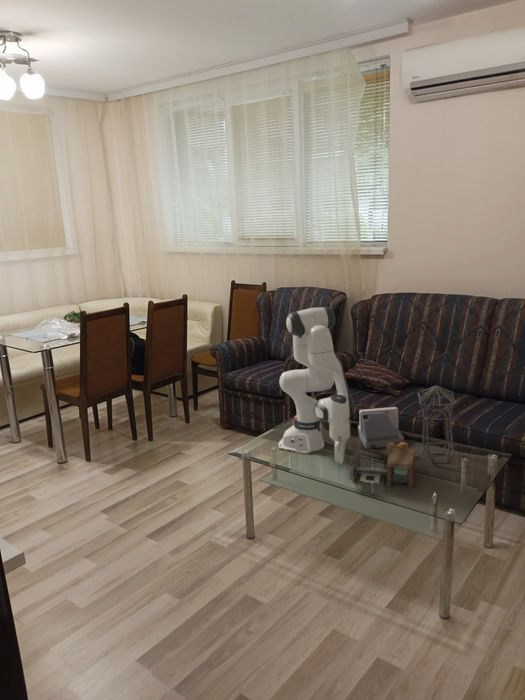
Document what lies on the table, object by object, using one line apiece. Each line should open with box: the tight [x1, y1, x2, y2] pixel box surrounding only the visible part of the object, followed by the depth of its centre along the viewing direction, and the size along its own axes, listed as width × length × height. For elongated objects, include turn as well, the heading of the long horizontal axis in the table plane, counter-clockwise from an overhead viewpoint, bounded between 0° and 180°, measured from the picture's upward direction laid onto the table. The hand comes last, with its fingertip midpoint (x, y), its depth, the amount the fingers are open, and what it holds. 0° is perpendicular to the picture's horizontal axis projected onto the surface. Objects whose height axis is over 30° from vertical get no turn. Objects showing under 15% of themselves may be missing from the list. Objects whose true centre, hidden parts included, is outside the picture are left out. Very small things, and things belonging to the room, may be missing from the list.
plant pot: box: [314, 392, 337, 430], centre depth 294 cm, size 15×15×16 cm
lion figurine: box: [386, 442, 410, 454], centre depth 256 cm, size 15×5×9 cm, turn 128°
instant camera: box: [357, 406, 405, 449], centre depth 275 cm, size 21×21×15 cm
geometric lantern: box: [416, 384, 458, 464], centre depth 248 cm, size 16×16×35 cm
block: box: [394, 467, 408, 476], centre depth 237 cm, size 5×5×5 cm
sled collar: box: [348, 450, 408, 484], centre depth 239 cm, size 25×14×8 cm, turn 72°
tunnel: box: [386, 448, 415, 489], centre depth 237 cm, size 10×14×10 cm
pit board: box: [359, 467, 382, 484], centre depth 242 cm, size 8×12×1 cm, turn 162°
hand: (340, 462), depth 244 cm, fingers closed
